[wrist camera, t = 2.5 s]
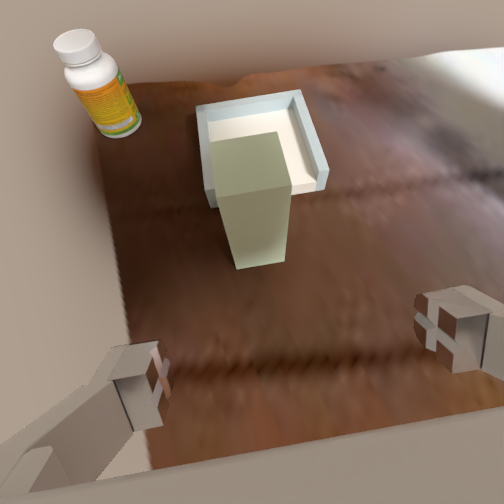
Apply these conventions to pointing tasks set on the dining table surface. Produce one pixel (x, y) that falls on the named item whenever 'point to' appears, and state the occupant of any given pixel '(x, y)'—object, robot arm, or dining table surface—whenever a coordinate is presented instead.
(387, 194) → the dining table surface
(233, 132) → the holder
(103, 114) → the supplement bottle
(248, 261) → the green block
